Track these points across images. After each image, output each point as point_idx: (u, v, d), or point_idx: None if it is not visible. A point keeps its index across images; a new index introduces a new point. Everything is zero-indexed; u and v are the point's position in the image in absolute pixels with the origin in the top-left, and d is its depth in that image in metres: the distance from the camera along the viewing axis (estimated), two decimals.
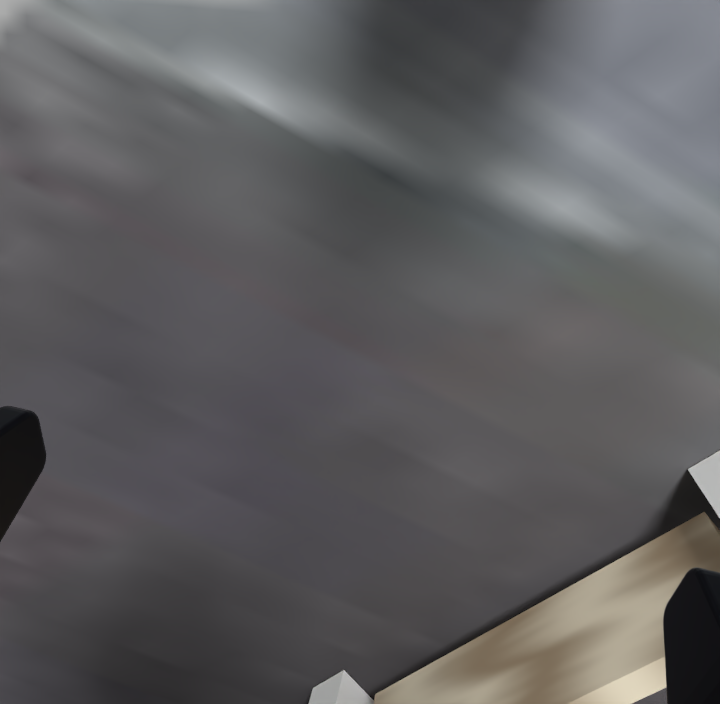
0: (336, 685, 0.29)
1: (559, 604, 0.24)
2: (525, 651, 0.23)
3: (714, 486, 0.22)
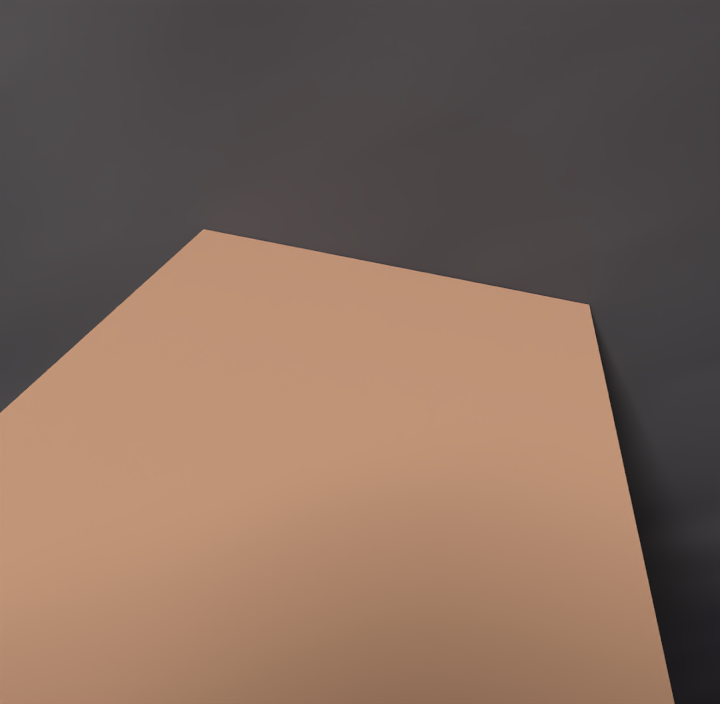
0: None
1: None
2: None
3: None
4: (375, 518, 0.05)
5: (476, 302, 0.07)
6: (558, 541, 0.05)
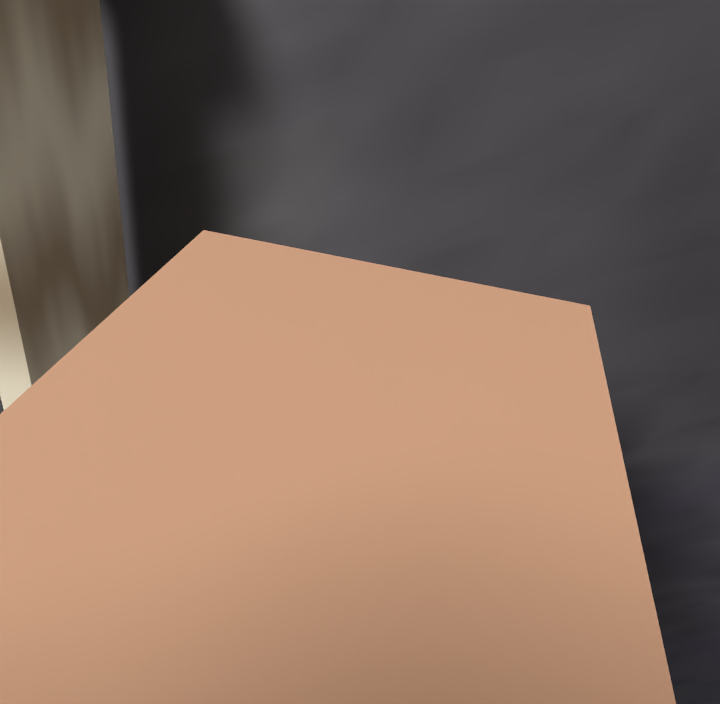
0: None
1: None
2: None
3: None
4: (373, 522, 0.05)
5: (476, 303, 0.07)
6: (560, 543, 0.05)
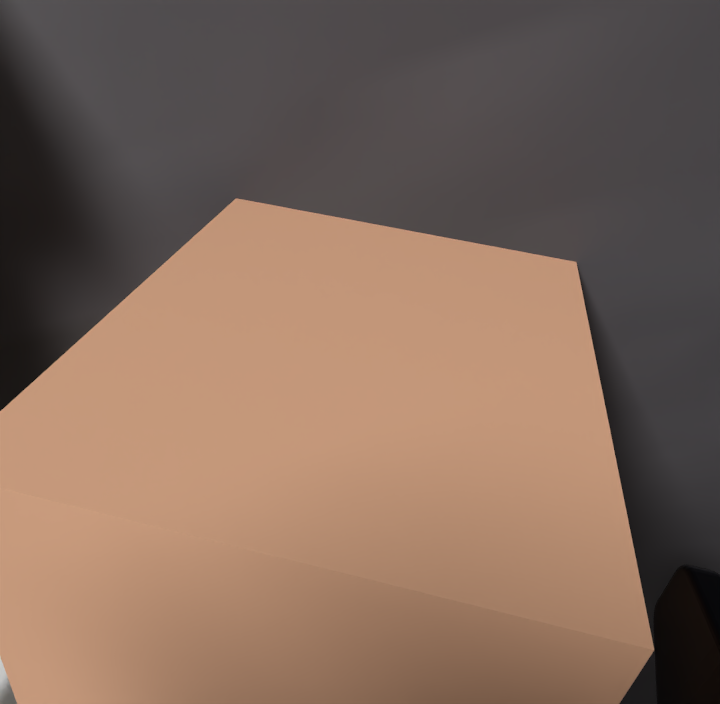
0: None
1: None
2: None
3: None
4: (396, 407, 0.06)
5: (477, 256, 0.09)
6: (543, 425, 0.06)
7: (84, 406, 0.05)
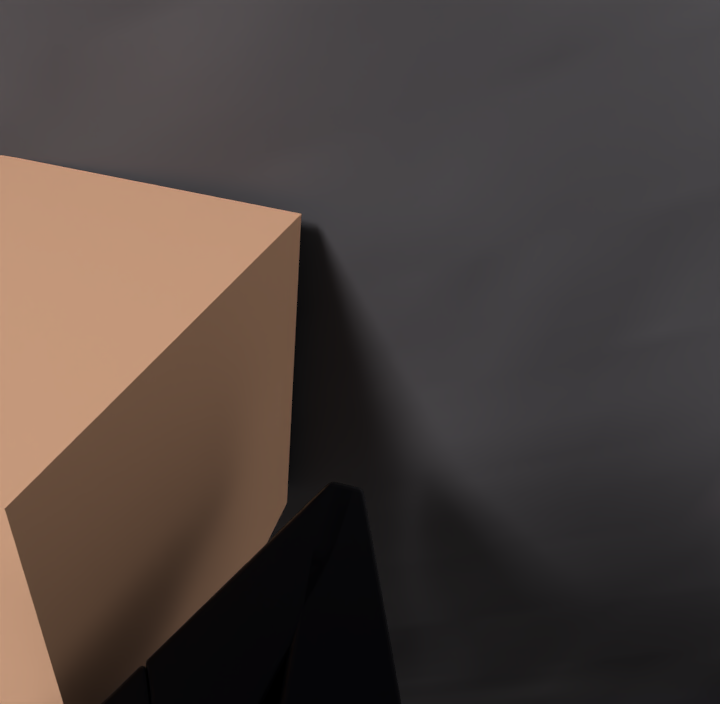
0: None
1: None
2: None
3: None
4: None
5: (197, 208, 0.09)
6: (102, 338, 0.06)
7: None
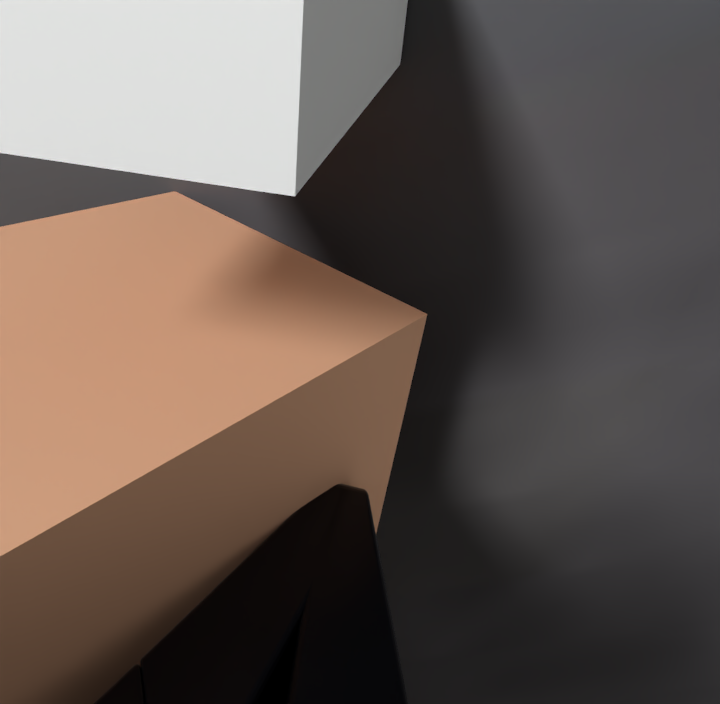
0: None
1: None
2: None
3: None
4: (23, 365, 0.06)
5: (319, 284, 0.08)
6: (128, 423, 0.06)
7: None
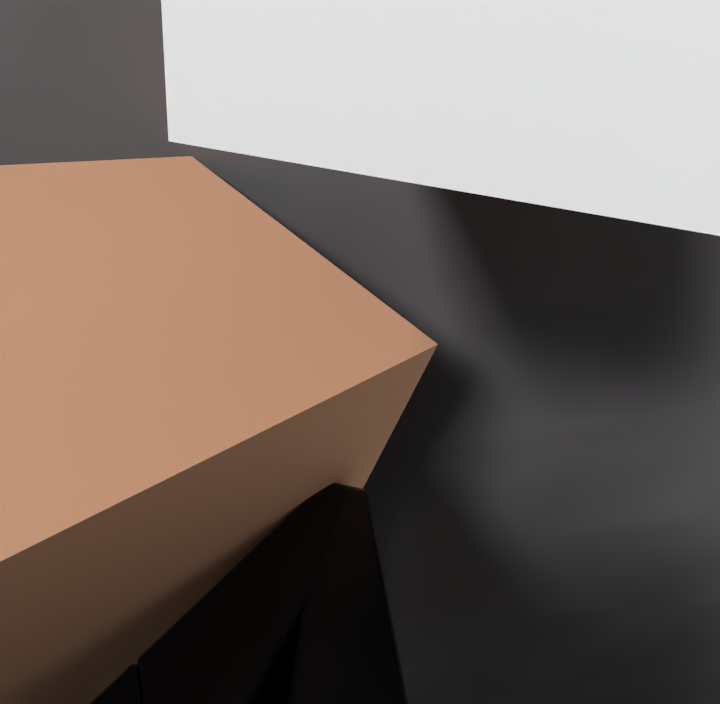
0: None
1: None
2: None
3: None
4: (22, 339, 0.06)
5: (334, 292, 0.08)
6: (131, 426, 0.05)
7: None
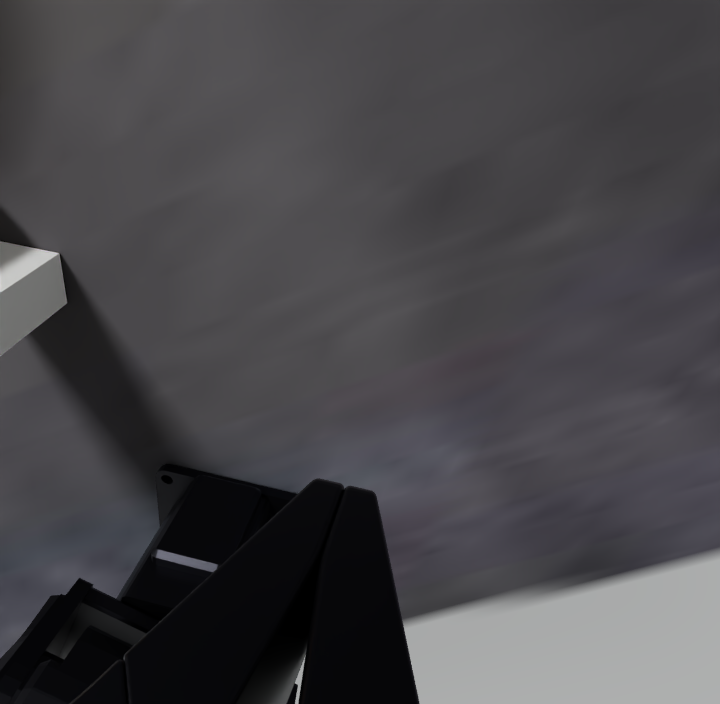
0: None
1: None
2: None
3: None
4: None
5: None
6: None
7: None
